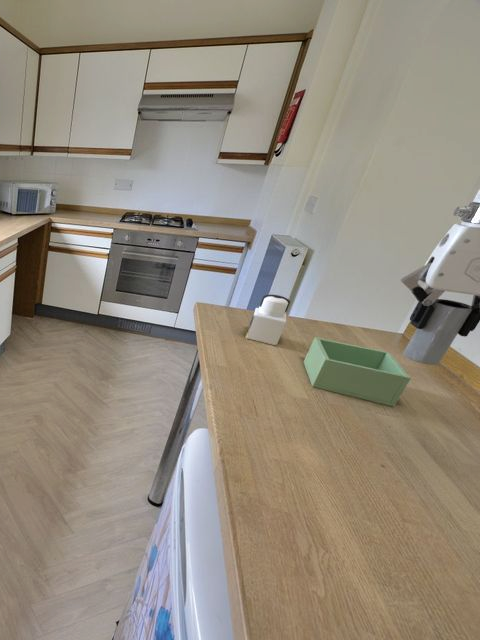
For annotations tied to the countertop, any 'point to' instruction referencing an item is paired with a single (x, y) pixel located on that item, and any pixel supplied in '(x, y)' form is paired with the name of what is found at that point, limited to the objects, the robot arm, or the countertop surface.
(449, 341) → the grey cylinder
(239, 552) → the countertop surface
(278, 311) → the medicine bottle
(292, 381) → the countertop surface
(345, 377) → the basket
